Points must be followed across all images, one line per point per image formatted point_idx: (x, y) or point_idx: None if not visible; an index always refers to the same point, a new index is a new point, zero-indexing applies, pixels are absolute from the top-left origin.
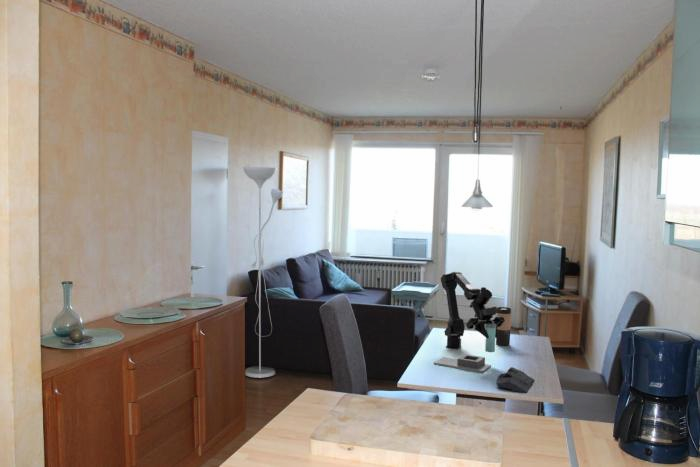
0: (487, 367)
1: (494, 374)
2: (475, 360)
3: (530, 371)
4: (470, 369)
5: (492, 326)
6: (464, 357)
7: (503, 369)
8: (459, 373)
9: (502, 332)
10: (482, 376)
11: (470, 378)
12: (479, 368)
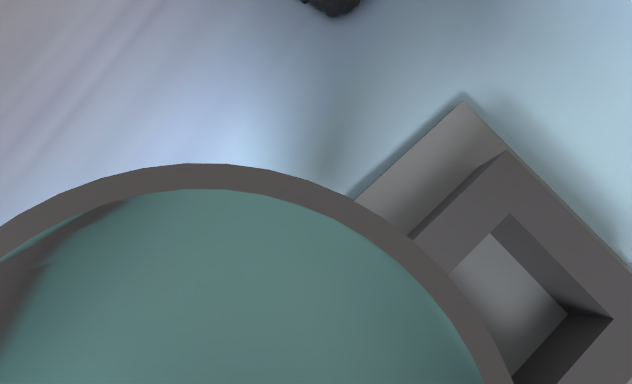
0: (367, 190)
1: (379, 49)
2: (509, 211)
3: (15, 50)
4: (541, 183)
5: (281, 189)
6: (584, 352)
7: (222, 155)
8: None
9: None
10: (500, 27)
11: (611, 7)
12: (457, 176)
